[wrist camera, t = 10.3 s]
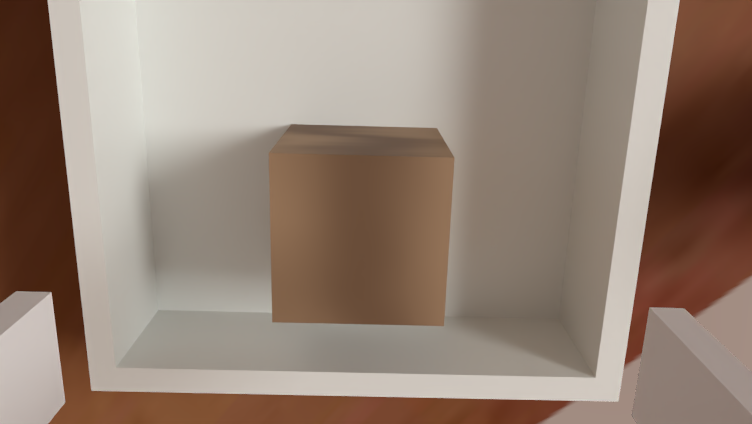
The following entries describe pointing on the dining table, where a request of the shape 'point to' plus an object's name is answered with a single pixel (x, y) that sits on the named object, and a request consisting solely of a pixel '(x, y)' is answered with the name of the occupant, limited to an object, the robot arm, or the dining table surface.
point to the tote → (360, 108)
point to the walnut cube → (360, 225)
